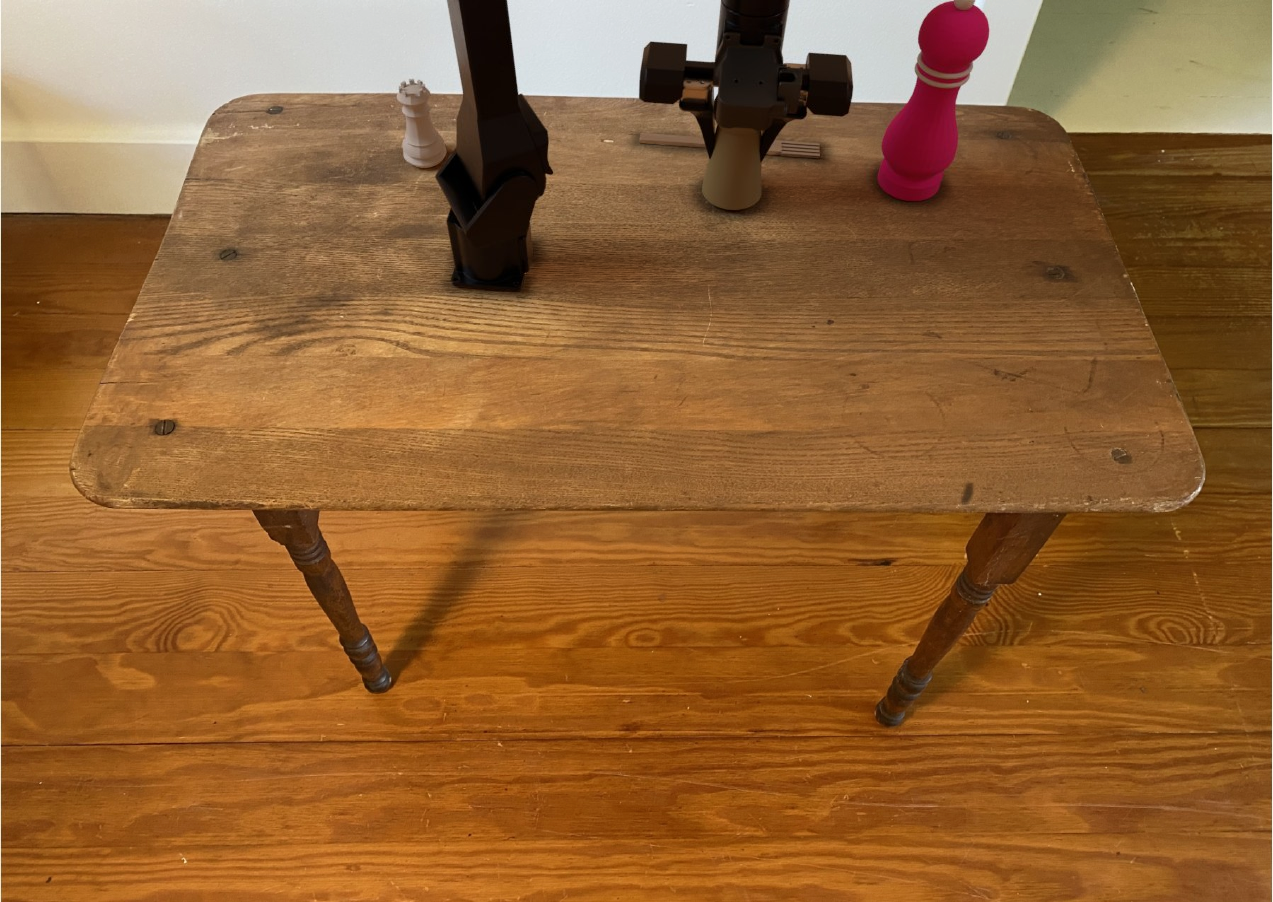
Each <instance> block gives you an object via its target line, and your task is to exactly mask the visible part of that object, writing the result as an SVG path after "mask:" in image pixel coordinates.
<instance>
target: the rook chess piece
mask: <svg viewBox="0 0 1273 902" xmlns="http://www.w3.org/2000/svg"><path fill="white" fill-rule="evenodd" d="M408 82H409V83H407V82H406V81H405V80H403V81H401V82H400V85H398V92H397V94H396V99H397V101H398V102H399V103H400V104H402V108H401V112H402V114H403V115H404V117H405V124H406V129H405V130H406V131H405V134H404V139H403V140H402V144H401V145H402V151H403V152H402V153H403V158H404V160H405V161H406V162H407V163H408V164H410V165H411V166H413V167H416V168H421V169H426V168H427V169H428V168H432V167H435V166H438V165H439V164H440V163H442V162H443V160H444V158H445V157H446V155H447V147H446V145H445V139H444V137H443V136H442V135H441V134H440V133H439V131H438V130H437V129H436V128H435V126H434V123H433V120H432V117H431V114H430V111H431V110H432V109H431V108H432V107H431V105H430V103H428V101H429V99H430V97H431V91H430V90H429V88H427V87H426V84H425V83H424V82H423V80H421V79H417V81H416V82H415V79H414V78H409V79H408Z"/></svg>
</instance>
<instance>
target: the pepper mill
mask: <svg viewBox="0 0 1273 902" xmlns="http://www.w3.org/2000/svg"><path fill="white" fill-rule="evenodd" d="M975 2H976V0H948V1H945V2H942V3H940V4H937V5H936V6H935V7H933V8H932V9H931V10H930V11H928V12H927V14H926V15H925V17H924V18H923V20H922V22H921V24H920V26H919V30H918V35H917V43H918V44H917V45H918V47H919V49H920V52H919V53H918V55H917V57H916V63H915V64H914V73H915V75H916V81H915V85H914V88H913V91H912V93H911V96H910V98H909V99H908V101H907V102H906V103H905V104H904V106H903V107H902V109H900V111H898V113H897V114H896V115H895V116H894V117H893V119H892V120H891V121H890V123H889V124H888V125H887V127H886V129H885V132H884V134H883V137H882V140H881V152H882V153H881V154H882V155H883V159H882V160H881V162H880V166H879V170H878V173H877V183H878V184H879V186H880V188H881V189H882V191H884V192H885V193H886V194H888V195H889V196H891V197H893V198H895V199H898V200H901V201H905V202H921V201H926V200H928V199H930V198H932V197H933V196H935V195H936V193H937V192H938V191H939V189H940V186H941V183H942V180H943V177H944V171H945V170H947V168H949V167H950V166H951V164H952V163H953V162H954V160H955V157H956V155H957V150H958V145H959V129H958V122H957V114H956V107H957V106H956V105H957V99H958V95H959V91H960V90H961V87H962V86H964V85H965V84H967V82H969V80H970V78H971V72H973V69H974V62H975V61H976V60H977V59H979V57H980V56H981V55H982V54H983V53H984V52H985V50H986V48H987V45H988V42H989V38H990V25H989V20H988V17H987V16H986V13H984V11H982V9H980V7H979V6H977V5H976V4H975Z"/></svg>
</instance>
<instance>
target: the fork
mask: <svg viewBox="0 0 1273 902" xmlns="http://www.w3.org/2000/svg"><path fill="white" fill-rule="evenodd" d="M639 144H647V145H661V146H673V147H675V146H676V147H691V148H702V149H703V148H704V149H706V146H705V142H704V139H703V136H693V135H692V136H691V135H681V134H679V135H678V134H667V133H666V134H664V133H651V132H650V133H649V132H640V135H639ZM766 155H770V156H781V157H789V158H803V159H815V160H816V159H817V160H820V156H821V153H820V142H809V141H808V142H807V141H796V140H795V141H793V140H781V139H775V140H774V142H773V144H772V145H771V147H770V149H769V150H768V152H767V154H766Z"/></svg>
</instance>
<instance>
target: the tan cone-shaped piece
mask: <svg viewBox="0 0 1273 902" xmlns="http://www.w3.org/2000/svg"><path fill="white" fill-rule="evenodd" d="M717 98H718V93H717V94H716V96H715V97H714V107H713V113H714V119H715V123H716V127H715V139H714V145H715V147H714V151H713V154H712V157H711V159H709V158H708V160H707V164H706V169H705V172H704V177H703V181H702V185H701V193H702V195H703V197H704V199H705V200H706V201H708V202H709V204H711V205H713V206H715V207H717V208H720V209H724V210H727V211H729V210H731V211H739V210H744V209H745V210H746V209H748V208H750V207H753V206H755V204H756V203H758V202H759V201H760V199H761V197H762V190H763V189H762V162H761V163H760V152H759V150H760V144H761V131H756V130H754V129H749V128H732V129H728V128H723V127H721V126H720V125H718V123H717V121H716V110H717Z"/></svg>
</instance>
